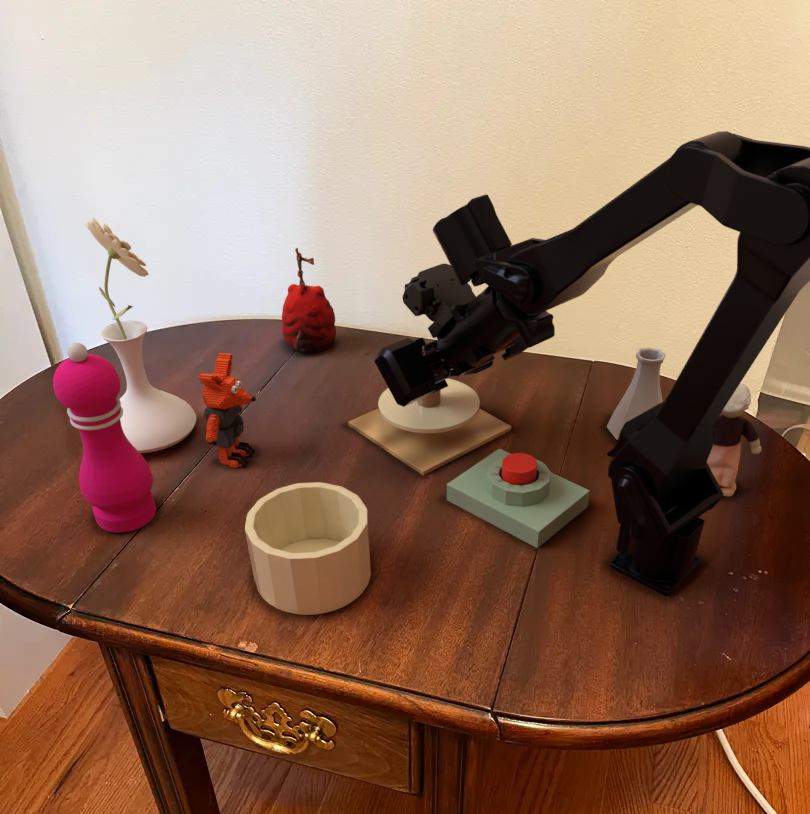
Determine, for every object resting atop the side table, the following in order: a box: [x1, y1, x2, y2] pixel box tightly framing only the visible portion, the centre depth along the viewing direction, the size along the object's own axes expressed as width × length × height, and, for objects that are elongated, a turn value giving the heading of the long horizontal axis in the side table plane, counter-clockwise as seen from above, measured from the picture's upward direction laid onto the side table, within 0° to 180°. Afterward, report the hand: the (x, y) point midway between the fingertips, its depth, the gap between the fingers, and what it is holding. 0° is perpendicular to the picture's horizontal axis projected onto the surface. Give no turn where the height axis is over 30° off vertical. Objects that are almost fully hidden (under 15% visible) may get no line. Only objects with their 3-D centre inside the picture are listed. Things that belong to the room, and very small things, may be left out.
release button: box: [501, 452, 537, 486], centre depth 87 cm, size 4×4×2 cm
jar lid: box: [377, 378, 481, 433], centre depth 97 cm, size 12×12×7 cm
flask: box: [606, 347, 666, 441], centre depth 97 cm, size 7×7×10 cm
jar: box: [244, 481, 372, 616], centre depth 79 cm, size 11×11×7 cm
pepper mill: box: [52, 342, 157, 534], centre depth 83 cm, size 7×7×20 cm
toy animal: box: [198, 352, 257, 469], centre depth 93 cm, size 8×5×12 cm
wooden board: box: [347, 407, 512, 476], centre depth 101 cm, size 14×14×1 cm
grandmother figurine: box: [707, 382, 763, 497], centre depth 87 cm, size 8×4×13 cm, turn 92°
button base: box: [446, 448, 591, 549], centre depth 88 cm, size 12×9×4 cm
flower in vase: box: [85, 217, 197, 454], centre depth 94 cm, size 13×11×25 cm
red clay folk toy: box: [281, 247, 337, 354], centre depth 114 cm, size 8×7×15 cm
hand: (421, 378), depth 98 cm, fingers closed on jar lid, 3 cm apart
